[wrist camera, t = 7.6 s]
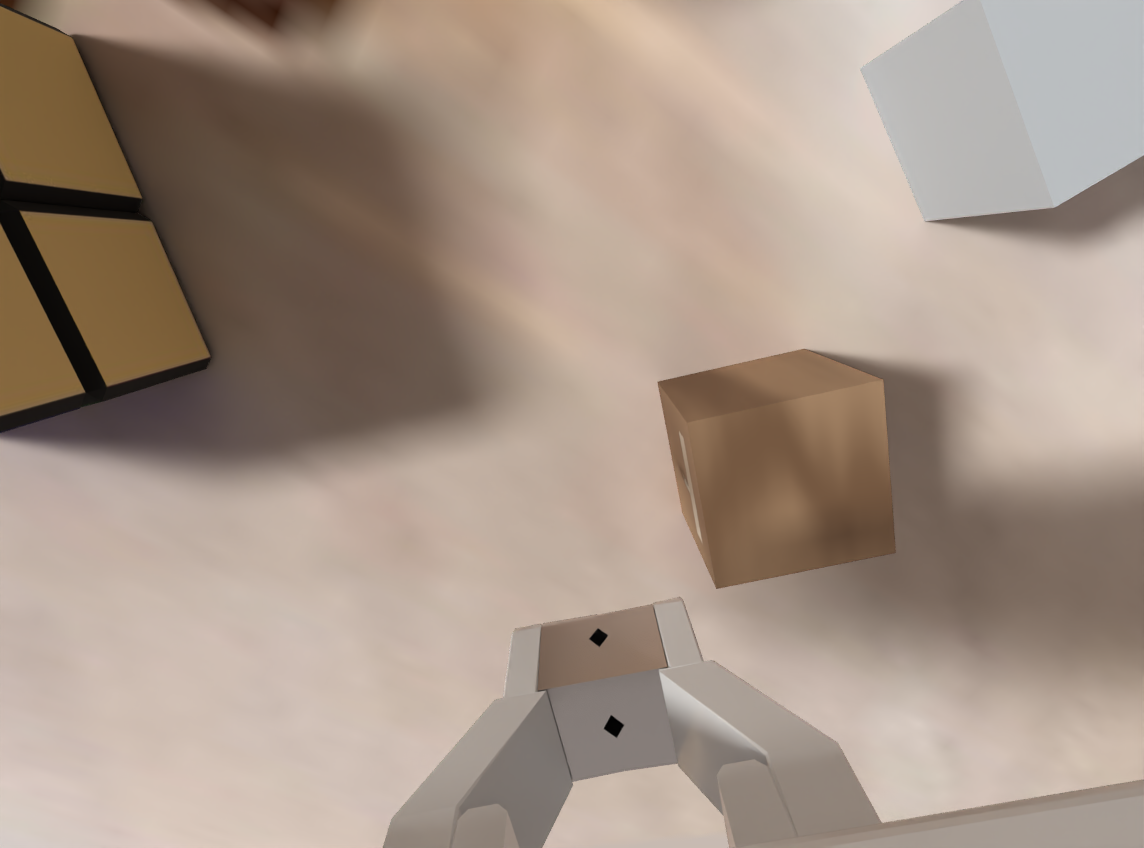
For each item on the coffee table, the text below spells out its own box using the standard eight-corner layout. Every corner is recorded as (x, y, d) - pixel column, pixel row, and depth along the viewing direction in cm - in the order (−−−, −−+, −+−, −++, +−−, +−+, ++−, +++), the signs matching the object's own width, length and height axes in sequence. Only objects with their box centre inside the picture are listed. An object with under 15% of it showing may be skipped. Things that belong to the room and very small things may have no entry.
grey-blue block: (858, 69, 17) (977, -9, 12) (1021, -39, 16) (1218, -167, 11) (923, 221, 18) (1054, 207, 13) (1077, 128, 17) (1276, 77, 12)
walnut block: (687, 422, 14) (883, 379, 14) (657, 381, 19) (803, 348, 19) (716, 588, 16) (895, 552, 15) (681, 511, 21) (817, 482, 20)
